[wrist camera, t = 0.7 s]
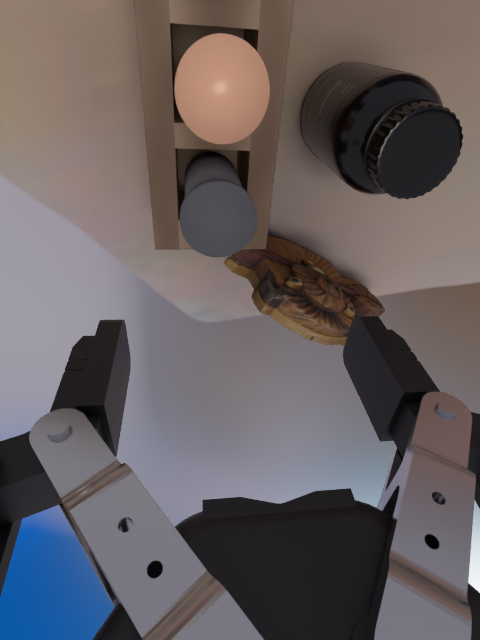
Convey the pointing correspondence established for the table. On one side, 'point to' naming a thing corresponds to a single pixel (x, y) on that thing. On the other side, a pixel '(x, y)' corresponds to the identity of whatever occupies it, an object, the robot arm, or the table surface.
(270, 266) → the wooden carving
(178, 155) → the walnut socket block
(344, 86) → the supplement bottle
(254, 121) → the terracotta plug
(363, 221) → the table surface
